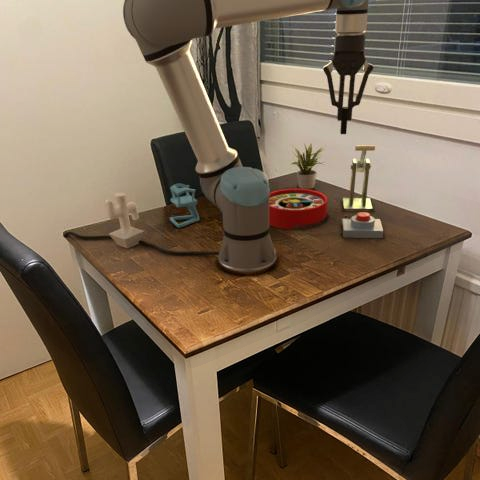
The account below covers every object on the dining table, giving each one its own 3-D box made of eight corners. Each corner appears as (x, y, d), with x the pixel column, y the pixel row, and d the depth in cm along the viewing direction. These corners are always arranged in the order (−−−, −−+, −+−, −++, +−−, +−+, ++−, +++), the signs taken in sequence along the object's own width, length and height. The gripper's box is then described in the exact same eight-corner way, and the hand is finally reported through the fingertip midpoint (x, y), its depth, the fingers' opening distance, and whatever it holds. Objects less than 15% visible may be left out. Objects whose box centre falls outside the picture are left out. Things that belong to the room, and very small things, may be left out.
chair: (202, 222, 155) (199, 185, 148) (178, 228, 152) (173, 189, 145) (193, 215, 160) (190, 178, 154) (169, 220, 157) (164, 183, 151)
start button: (356, 222, 141) (357, 216, 140) (356, 217, 144) (356, 211, 143) (369, 222, 140) (370, 216, 139) (368, 217, 143) (369, 212, 142)
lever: (375, 150, 142) (375, 142, 143) (355, 150, 143) (355, 142, 143) (368, 172, 155) (369, 165, 156) (351, 172, 156) (351, 165, 156)
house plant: (333, 195, 171) (336, 147, 163) (294, 198, 170) (295, 150, 161) (321, 183, 183) (324, 137, 175) (285, 186, 182) (285, 140, 173)
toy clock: (261, 189, 161) (323, 187, 160) (262, 206, 164) (322, 205, 164) (263, 211, 144) (331, 209, 144) (263, 230, 148) (330, 228, 147)
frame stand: (372, 212, 157) (377, 165, 149) (343, 211, 158) (347, 165, 150) (369, 201, 165) (374, 156, 157) (342, 201, 166) (345, 156, 158)
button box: (343, 237, 141) (344, 224, 139) (341, 225, 148) (342, 212, 146) (382, 238, 139) (384, 224, 137) (379, 226, 147) (380, 213, 145)
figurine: (149, 241, 144) (141, 191, 136) (123, 252, 138) (114, 200, 130) (132, 236, 148) (124, 186, 140) (107, 246, 142) (97, 196, 134)
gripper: (375, 32, 125) (366, 129, 138) (323, 34, 127) (319, 130, 139) (378, 34, 119) (368, 136, 132) (324, 36, 120) (319, 136, 133)
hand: (343, 133), depth 135 cm, fingers closed
